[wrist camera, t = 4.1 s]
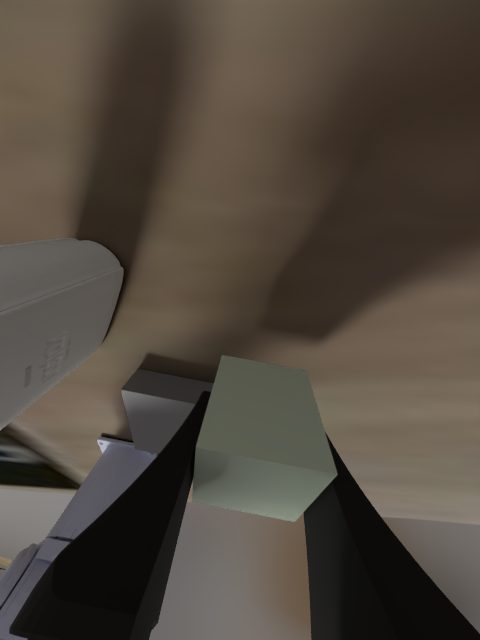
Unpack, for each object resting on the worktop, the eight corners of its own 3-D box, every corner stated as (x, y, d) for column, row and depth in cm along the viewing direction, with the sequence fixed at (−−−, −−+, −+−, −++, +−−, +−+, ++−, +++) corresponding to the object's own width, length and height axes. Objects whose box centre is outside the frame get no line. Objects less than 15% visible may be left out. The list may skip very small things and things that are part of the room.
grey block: (226, 438, 23) (221, 466, 21) (148, 423, 24) (134, 449, 21) (238, 384, 19) (234, 411, 16) (140, 365, 19) (120, 389, 16)
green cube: (283, 421, 13) (294, 521, 9) (214, 408, 13) (191, 501, 9) (306, 370, 11) (337, 474, 6) (222, 354, 11) (195, 446, 6)
